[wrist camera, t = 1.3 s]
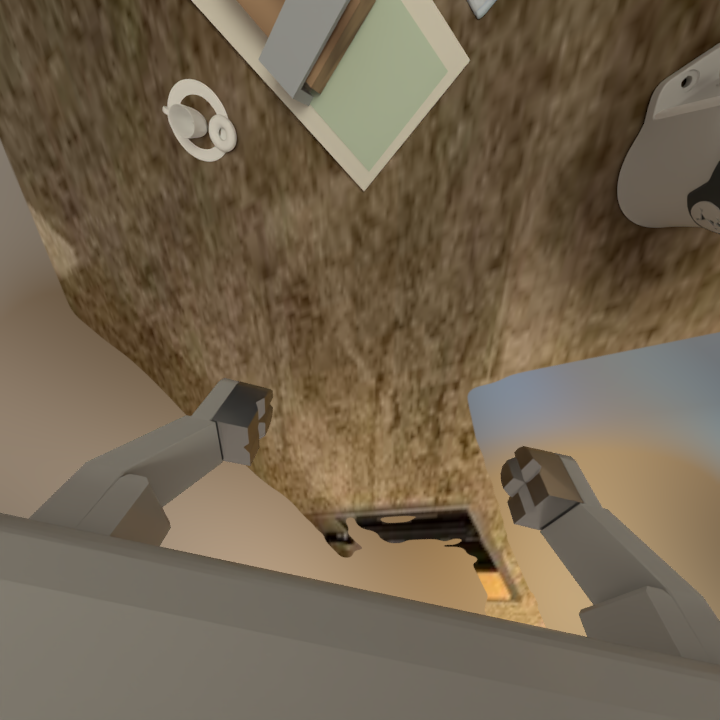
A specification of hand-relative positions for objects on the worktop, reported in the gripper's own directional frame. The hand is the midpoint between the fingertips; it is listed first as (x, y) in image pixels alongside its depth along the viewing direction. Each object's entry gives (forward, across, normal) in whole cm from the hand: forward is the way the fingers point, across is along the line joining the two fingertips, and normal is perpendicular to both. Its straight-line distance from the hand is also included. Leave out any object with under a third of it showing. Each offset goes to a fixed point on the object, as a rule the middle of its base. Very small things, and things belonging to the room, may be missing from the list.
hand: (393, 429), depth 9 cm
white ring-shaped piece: (+38, +26, -2) cm, 47 cm away
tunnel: (+38, +12, -16) cm, 42 cm away
